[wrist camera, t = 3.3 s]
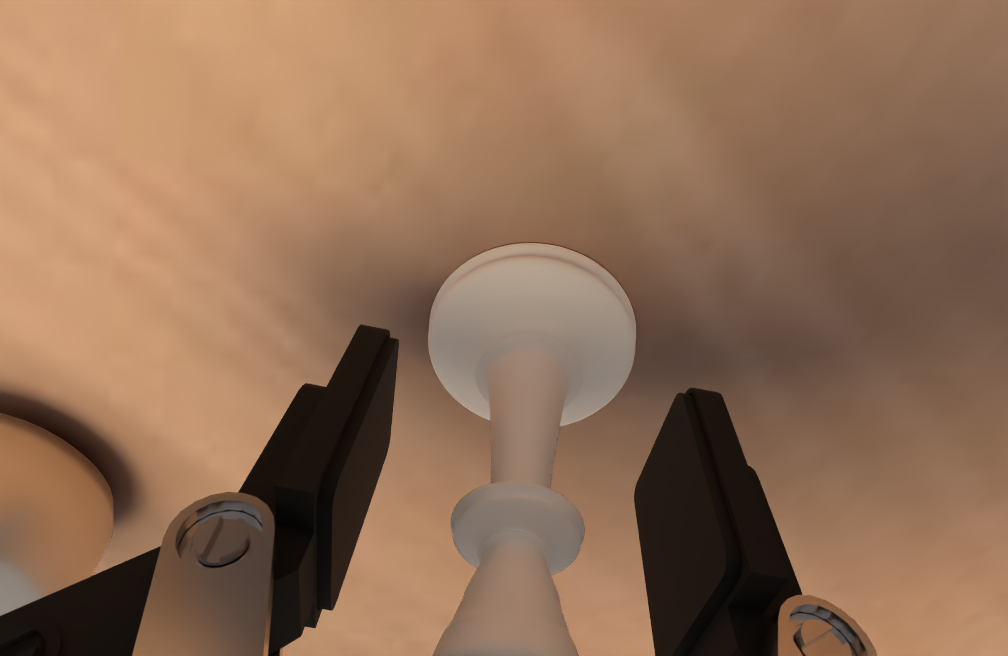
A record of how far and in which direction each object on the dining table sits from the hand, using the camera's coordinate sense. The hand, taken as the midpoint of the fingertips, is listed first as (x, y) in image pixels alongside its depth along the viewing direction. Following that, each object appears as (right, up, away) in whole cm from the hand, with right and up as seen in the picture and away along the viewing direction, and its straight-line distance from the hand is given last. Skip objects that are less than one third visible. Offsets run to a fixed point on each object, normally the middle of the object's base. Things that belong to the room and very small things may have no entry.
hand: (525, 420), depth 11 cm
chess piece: (0, +2, +3) cm, 3 cm away
